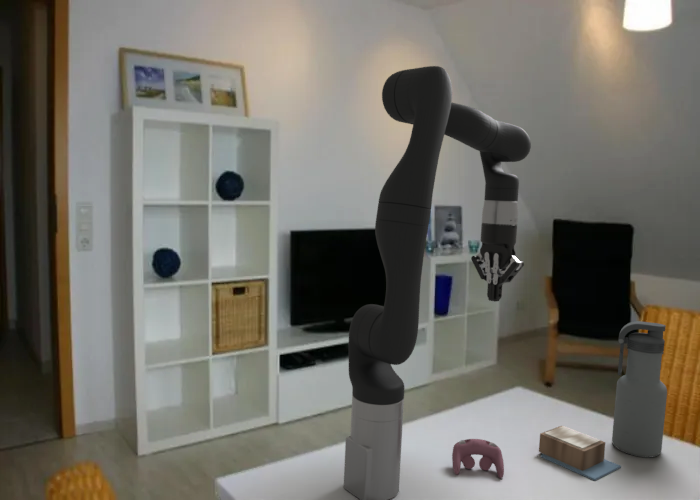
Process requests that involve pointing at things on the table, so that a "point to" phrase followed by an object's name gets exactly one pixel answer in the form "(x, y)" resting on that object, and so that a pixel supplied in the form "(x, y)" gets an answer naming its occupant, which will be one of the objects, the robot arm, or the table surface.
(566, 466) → the rubber mat
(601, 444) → the wooden block
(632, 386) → the water bottle
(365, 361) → the robot arm
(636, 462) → the table surface
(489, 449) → the video game controller
